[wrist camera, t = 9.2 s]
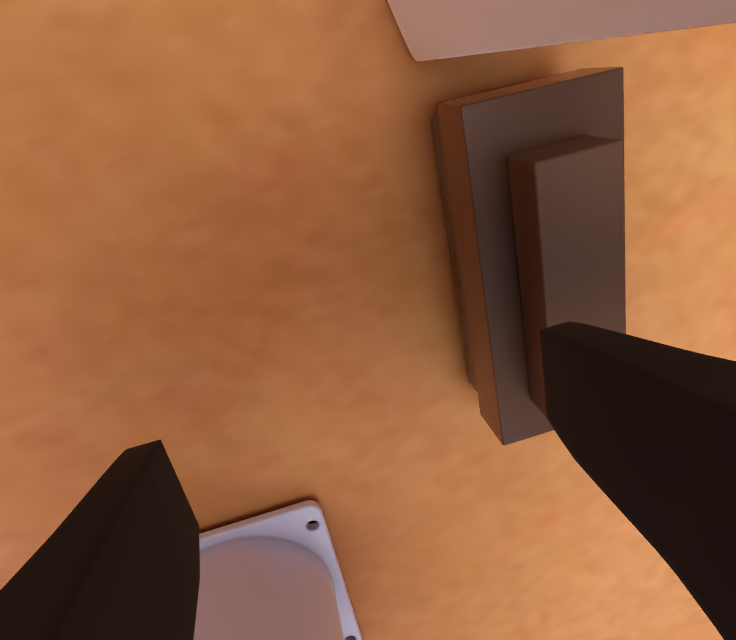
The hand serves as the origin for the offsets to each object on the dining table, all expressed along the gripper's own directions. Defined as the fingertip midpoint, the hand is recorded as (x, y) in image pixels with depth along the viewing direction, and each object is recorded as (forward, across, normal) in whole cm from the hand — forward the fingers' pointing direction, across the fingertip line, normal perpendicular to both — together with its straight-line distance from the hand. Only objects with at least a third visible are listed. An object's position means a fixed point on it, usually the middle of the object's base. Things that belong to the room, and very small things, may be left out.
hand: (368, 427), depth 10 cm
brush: (+9, -7, +1) cm, 12 cm away
